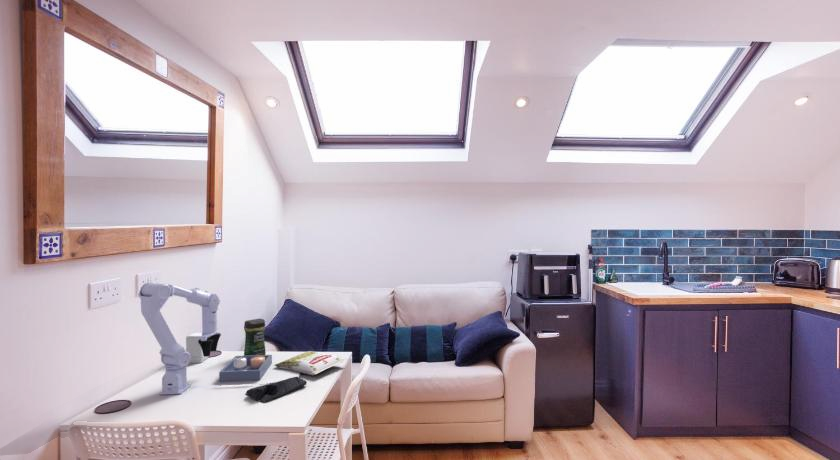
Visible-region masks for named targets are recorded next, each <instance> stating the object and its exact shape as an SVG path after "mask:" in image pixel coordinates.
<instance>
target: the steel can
mask: <svg viewBox="0 0 840 460" xmlns="http://www.w3.org/2000/svg"><path fill="white" fill-rule="evenodd" d="M239 370H247V360H246V357H239V358H235V359H234V371H239Z"/></svg>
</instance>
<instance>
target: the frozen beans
mask: <svg viewBox="0 0 840 460" xmlns="http://www.w3.org/2000/svg"><path fill="white" fill-rule="evenodd" d="M345 361H346V359H345V358H343V357H340V356H336V355H333V354H328V353H323V352H318V351H313V350H308V351H305V352H303V353H300V354H297V355H296V356H292V357H290V358H288V359H286V360H283V361H281V362H278V363H276V364H273V367H274V366H275V367H277V368H279V369H283V370H290V371H293V372H298V373H300V374H304V375H309V376H315V375H317V374H319V373H321V372H323V371H325V370H327V369H329V368H331V367H335V366H336V365H338V364H341V363H344V362H345Z"/></svg>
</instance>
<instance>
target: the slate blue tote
mask: <svg viewBox="0 0 840 460" xmlns="http://www.w3.org/2000/svg"><path fill="white" fill-rule="evenodd" d="M259 356H262V357H265V361H264V363H263V364H262V365H261V367H260V368H259V369H257V370H254V369H251V358H253V357H259ZM239 357H246V360H247V370H239V371H234V359H235V358H239ZM272 364H273V355H272V354H266V355H251V356H244V355H235V356H234V357H233V358H232V359H231V360H230V361H229V362H228V363H227V364H226V365H225V366H224V367H223V368H222V369H220V370H219V372H218V377H219V380H218V381H219V383H224V382H226V383H229V382H249V381H251V382H252V381H253V382H254V381H261V380H262V379H263V377H264V376H265V374H266V373H267V371H268V370H269V369H270V367H271V366H272Z"/></svg>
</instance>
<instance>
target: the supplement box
mask: <svg viewBox="0 0 840 460" xmlns="http://www.w3.org/2000/svg"><path fill="white" fill-rule="evenodd" d="M201 336H202V332H192V333H191V334H189V335H187V336H185V346H186V347H185V348H186V349H185V350H186V351H188V352H189V353H190V356H191V359H190V362H189V364H202V363H203V362H205V361H206V360H208V359H209V356H205V357H204V355H203V351H202V348H201V346H200V344H199V343H198V340H200V339H201Z"/></svg>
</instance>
